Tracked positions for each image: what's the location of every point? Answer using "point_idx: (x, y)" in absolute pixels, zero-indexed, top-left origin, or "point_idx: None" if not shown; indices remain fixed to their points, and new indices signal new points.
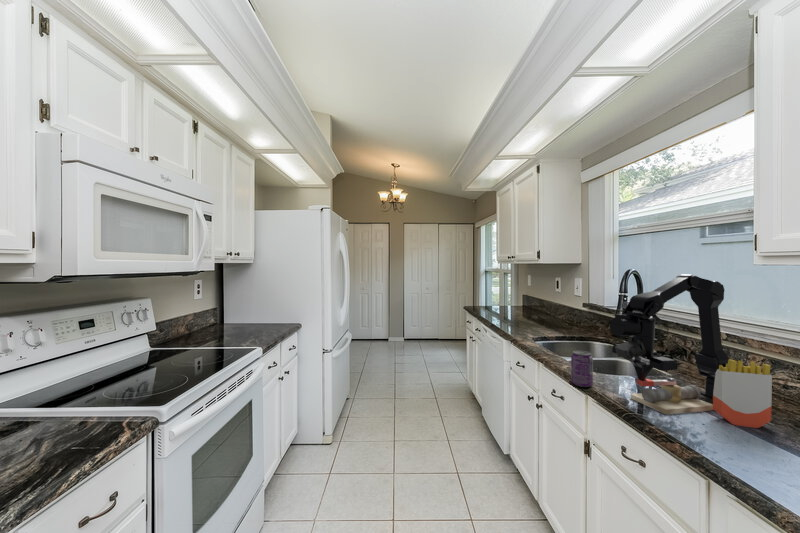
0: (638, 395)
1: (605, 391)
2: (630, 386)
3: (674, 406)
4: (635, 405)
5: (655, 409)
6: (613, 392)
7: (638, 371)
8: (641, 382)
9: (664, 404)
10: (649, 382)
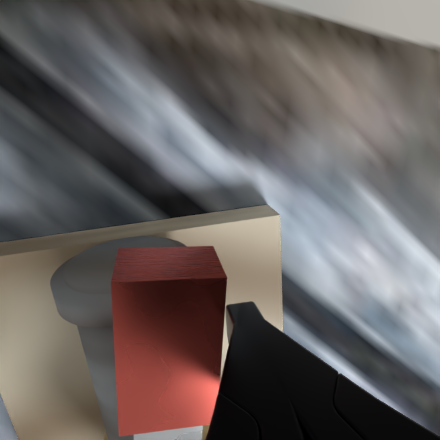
0: (245, 253)
1: (414, 110)
2: (429, 342)
3: (29, 363)
4: (144, 140)
5: (60, 234)
6: (384, 160)
7: (280, 396)
8: (136, 269)
9: (65, 321)
10: (118, 368)
